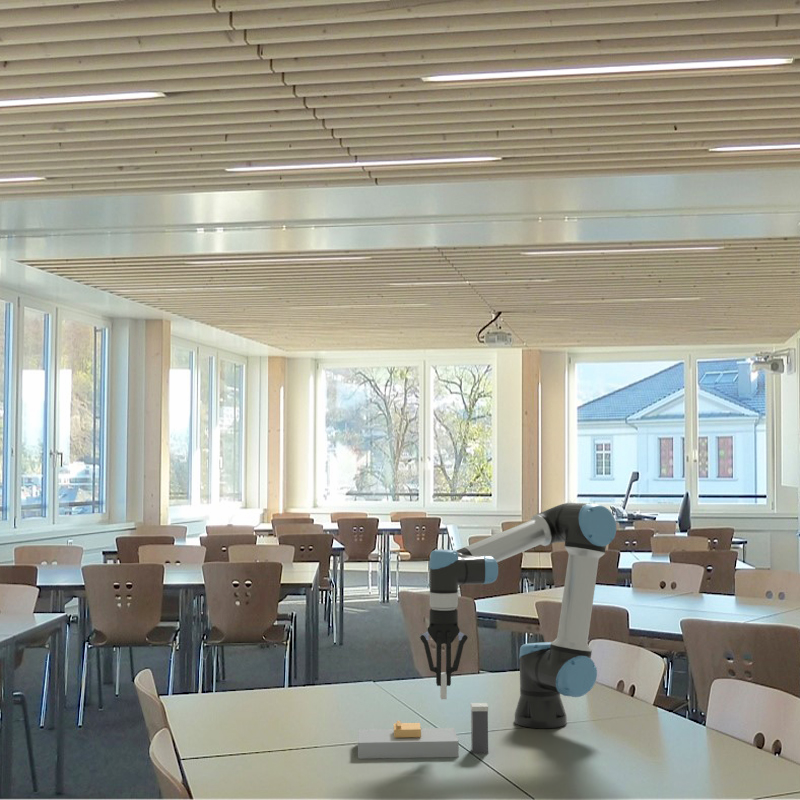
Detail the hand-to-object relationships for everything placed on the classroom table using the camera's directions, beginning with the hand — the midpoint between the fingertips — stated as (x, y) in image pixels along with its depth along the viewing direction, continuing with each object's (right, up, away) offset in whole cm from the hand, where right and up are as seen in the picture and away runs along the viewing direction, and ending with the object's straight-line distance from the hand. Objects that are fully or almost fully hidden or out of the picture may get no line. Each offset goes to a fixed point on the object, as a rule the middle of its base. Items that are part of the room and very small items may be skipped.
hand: (443, 698), depth 287 cm
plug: (+9, -13, -2) cm, 17 cm away
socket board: (-10, -14, -1) cm, 17 cm away
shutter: (-10, -9, -1) cm, 13 cm away
